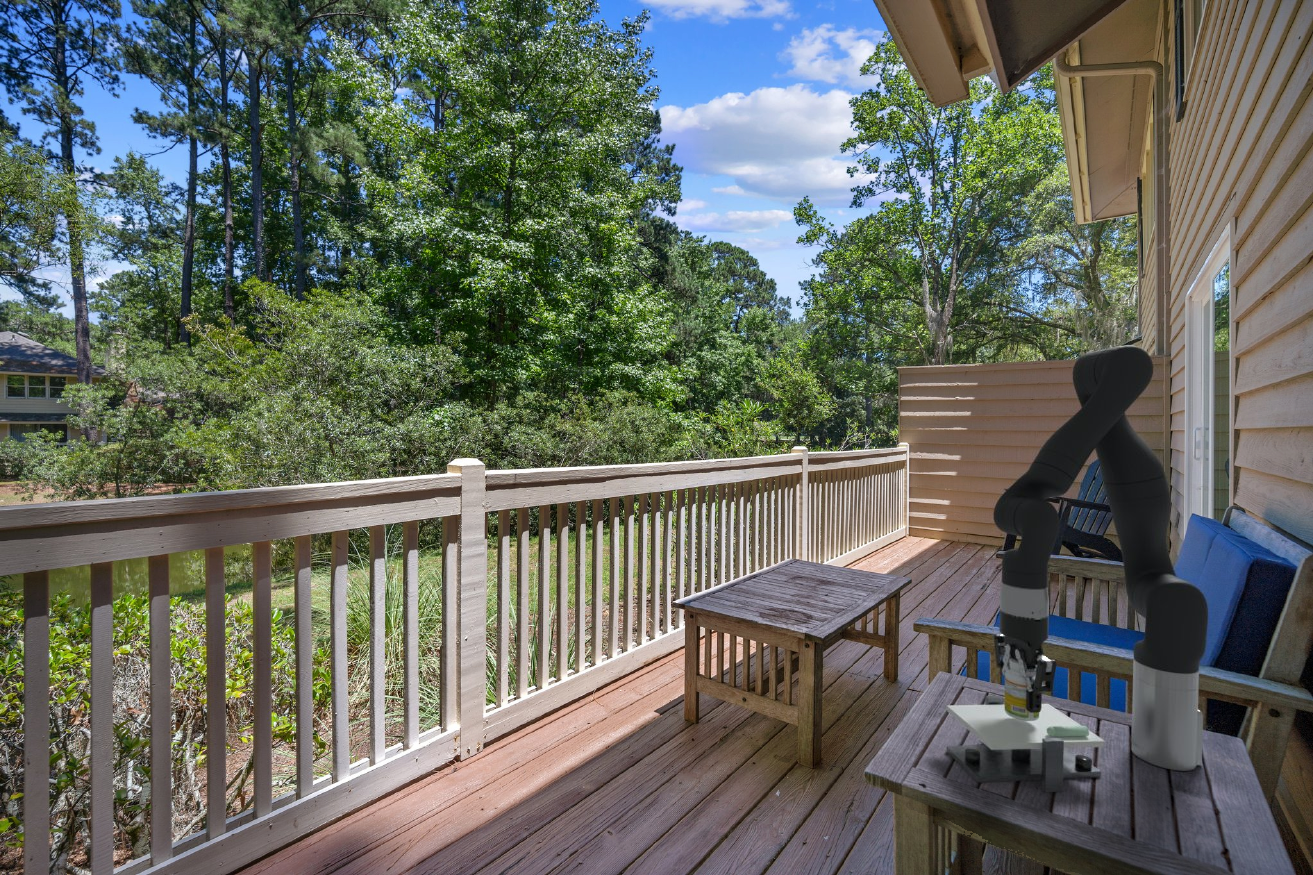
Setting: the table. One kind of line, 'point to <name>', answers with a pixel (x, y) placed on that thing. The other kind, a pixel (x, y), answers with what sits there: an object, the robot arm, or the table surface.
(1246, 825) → the table surface
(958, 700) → the table surface
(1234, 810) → the table surface
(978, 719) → the levelling plate
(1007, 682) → the supplement bottle
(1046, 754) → the base
